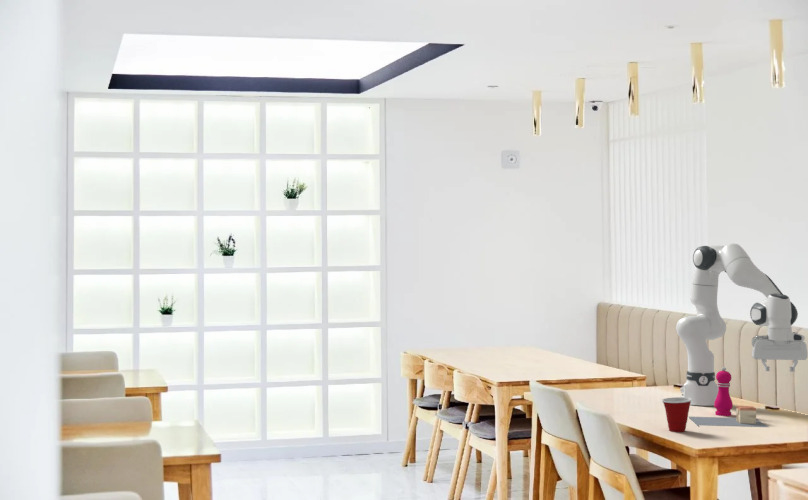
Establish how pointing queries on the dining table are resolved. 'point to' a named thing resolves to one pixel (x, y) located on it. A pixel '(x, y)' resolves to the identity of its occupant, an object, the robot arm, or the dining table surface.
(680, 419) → the plastic cup
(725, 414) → the pepper mill
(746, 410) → the maple cube
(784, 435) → the dining table surface
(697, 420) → the slate mat
